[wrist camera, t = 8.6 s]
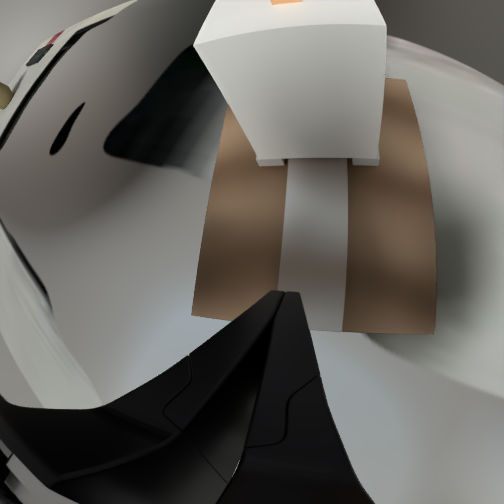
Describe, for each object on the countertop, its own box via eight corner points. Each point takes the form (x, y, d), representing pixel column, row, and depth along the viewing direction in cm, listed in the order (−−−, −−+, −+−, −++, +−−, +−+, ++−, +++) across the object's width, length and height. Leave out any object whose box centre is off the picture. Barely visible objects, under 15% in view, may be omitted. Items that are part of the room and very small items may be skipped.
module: (378, 166, 15) (391, 3, 5) (259, 166, 18) (176, 28, 8) (370, 105, 16) (364, -37, 6) (266, 108, 19) (207, -18, 9)
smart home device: (35, 60, 56) (25, 65, 63) (38, 63, 57) (27, 67, 65) (51, 42, 56) (38, 49, 64) (54, 45, 58) (40, 51, 65)
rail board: (427, 333, 14) (456, 335, 10) (200, 316, 18) (161, 311, 14) (404, 90, 18) (408, 49, 13) (236, 95, 22) (217, 59, 18)
